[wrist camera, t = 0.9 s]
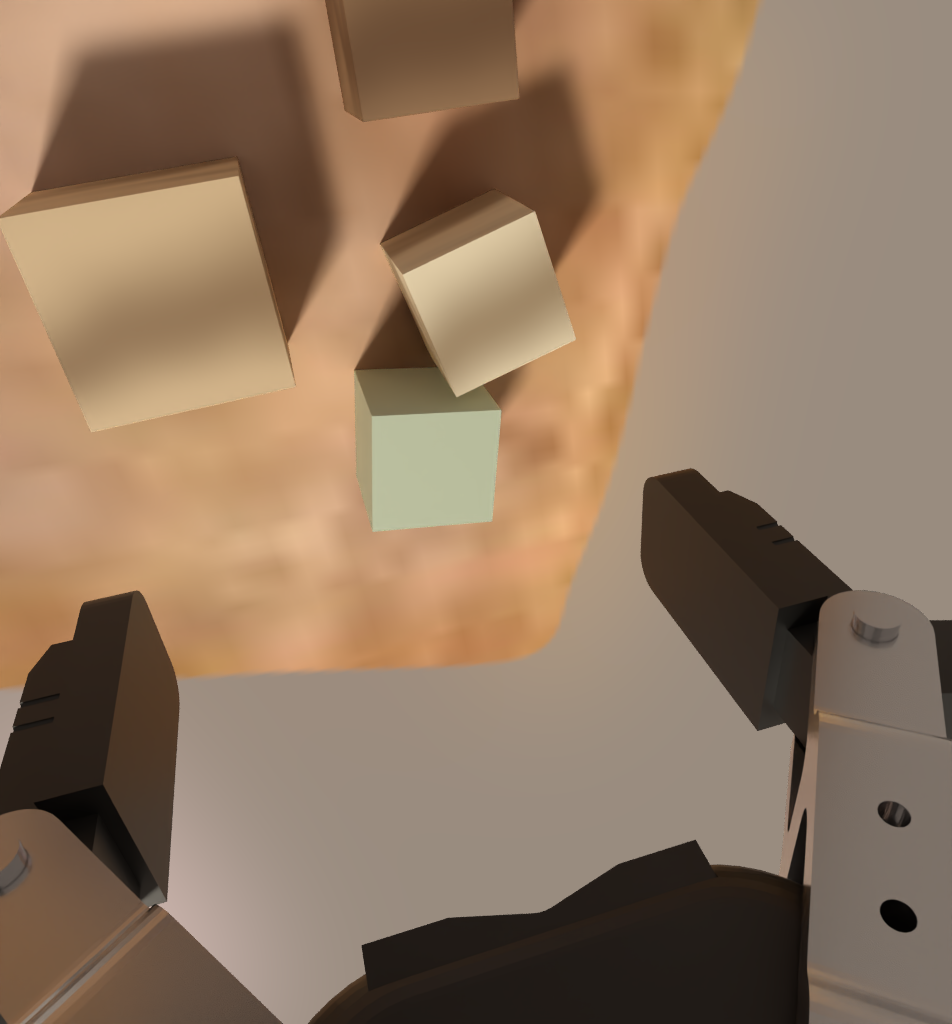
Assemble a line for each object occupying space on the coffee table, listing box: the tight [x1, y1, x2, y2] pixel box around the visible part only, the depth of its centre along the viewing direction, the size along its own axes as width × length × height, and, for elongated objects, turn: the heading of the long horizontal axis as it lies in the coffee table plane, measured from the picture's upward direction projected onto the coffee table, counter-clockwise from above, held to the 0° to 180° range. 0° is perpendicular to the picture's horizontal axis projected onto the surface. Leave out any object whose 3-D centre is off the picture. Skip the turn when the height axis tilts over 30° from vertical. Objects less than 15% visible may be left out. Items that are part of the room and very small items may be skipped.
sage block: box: [354, 367, 501, 532], centre depth 33 cm, size 5×5×5 cm
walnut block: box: [325, 0, 519, 122], centre depth 25 cm, size 5×5×5 cm
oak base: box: [0, 157, 296, 432], centre depth 27 cm, size 7×7×5 cm
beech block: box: [380, 189, 576, 397], centre depth 30 cm, size 5×5×5 cm
